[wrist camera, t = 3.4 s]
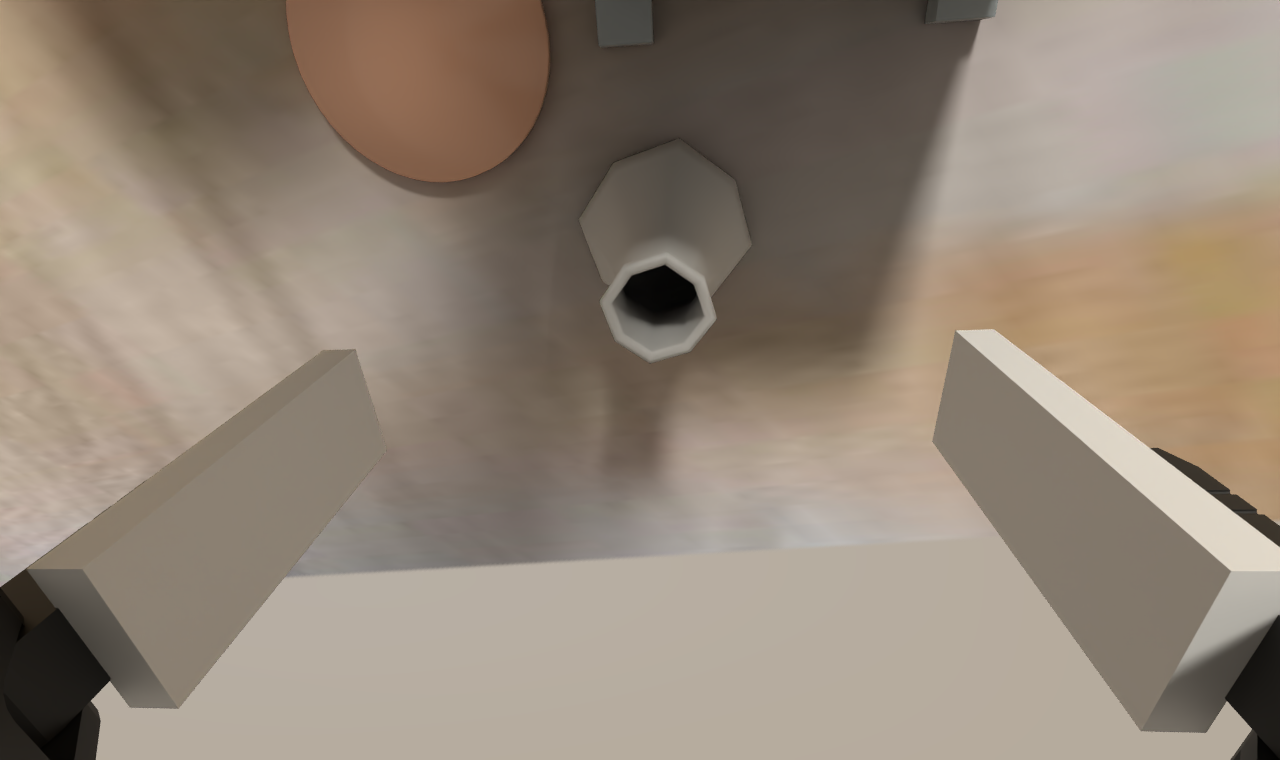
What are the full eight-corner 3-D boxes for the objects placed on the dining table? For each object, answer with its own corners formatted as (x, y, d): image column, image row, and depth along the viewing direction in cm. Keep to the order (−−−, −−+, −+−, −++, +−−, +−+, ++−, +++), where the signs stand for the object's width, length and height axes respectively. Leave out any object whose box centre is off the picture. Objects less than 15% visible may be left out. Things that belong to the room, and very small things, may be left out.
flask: (649, 336, 27) (635, 457, 18) (550, 214, 25) (479, 285, 16) (779, 247, 25) (835, 336, 16) (684, 103, 23) (688, 115, 14)
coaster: (256, -106, 20) (244, -111, 20) (529, -133, 19) (525, -139, 19) (340, 186, 25) (333, 188, 24) (565, 173, 24) (562, 175, 23)
